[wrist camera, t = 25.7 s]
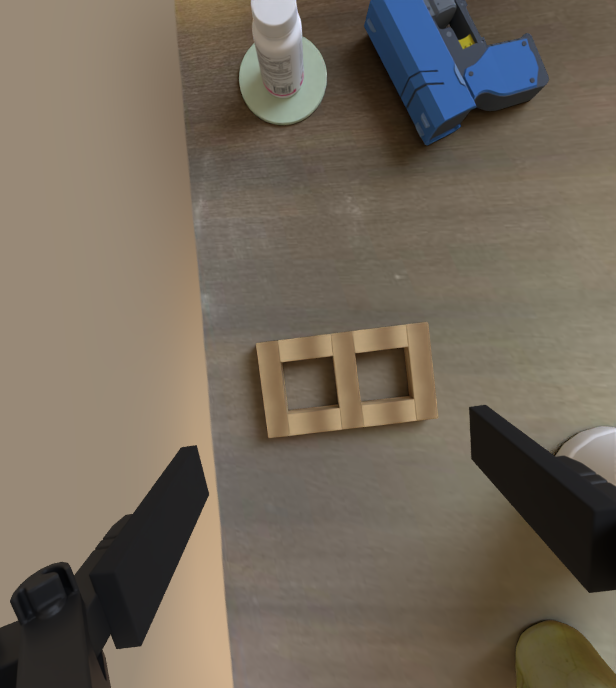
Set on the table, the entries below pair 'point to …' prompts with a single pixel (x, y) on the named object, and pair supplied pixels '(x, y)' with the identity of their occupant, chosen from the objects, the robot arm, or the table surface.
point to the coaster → (284, 108)
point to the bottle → (594, 451)
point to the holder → (348, 380)
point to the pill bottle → (278, 45)
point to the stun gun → (449, 63)
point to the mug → (559, 659)
